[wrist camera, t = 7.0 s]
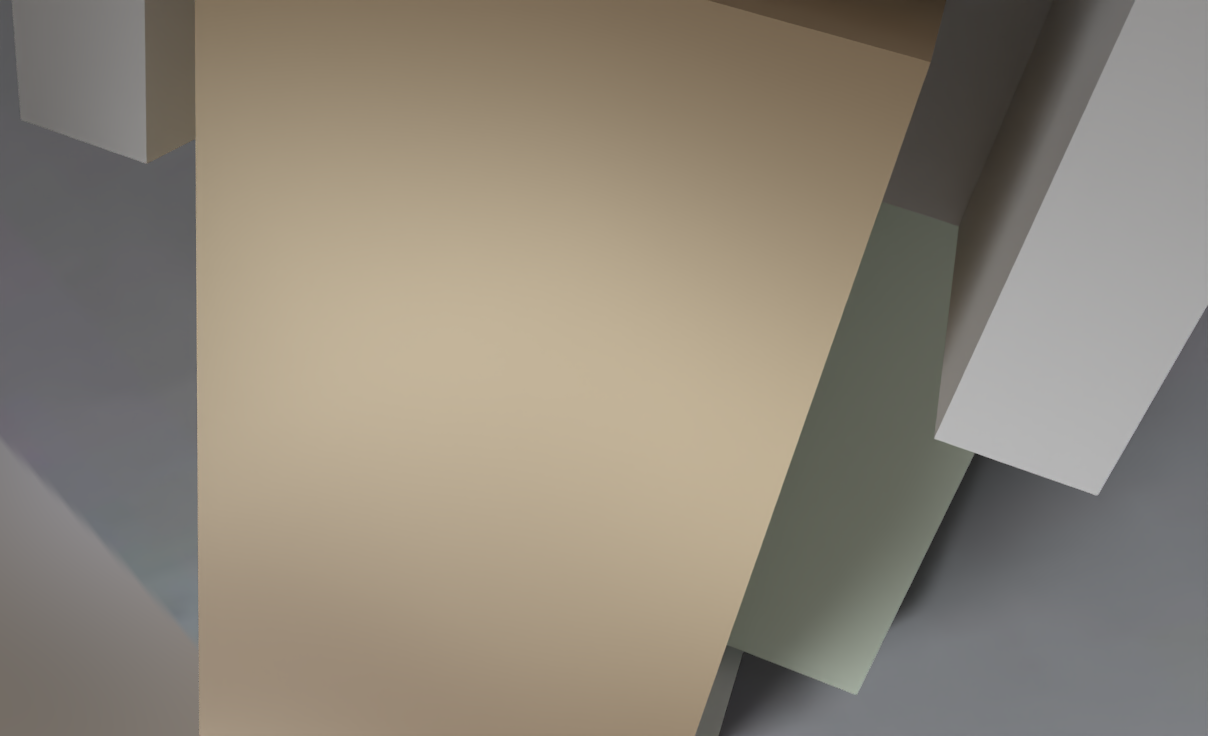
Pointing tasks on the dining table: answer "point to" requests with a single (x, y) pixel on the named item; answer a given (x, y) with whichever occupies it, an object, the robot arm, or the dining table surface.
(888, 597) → the bracket board
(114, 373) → the dining table surface
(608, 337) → the batten
